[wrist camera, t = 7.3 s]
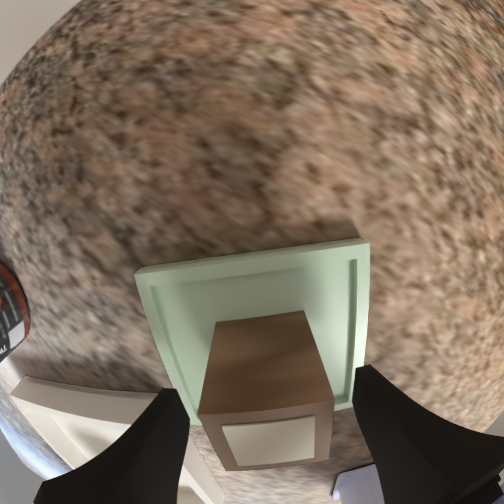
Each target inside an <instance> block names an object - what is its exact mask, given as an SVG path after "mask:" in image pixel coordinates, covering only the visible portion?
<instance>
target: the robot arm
mask: <svg viewBox="0 0 504 504" xmlns="http://www.w3.org/2000/svg"><path fill="white" fill-rule="evenodd" d="M352 404H353V408H354V411H355V415H356V418H357V421H358V424H359V426H360V429H361V431H362V434H363V436H364V438H365V441H366V443H367V445H368V448H369V450H370V452H371V455H372V457H373V460H374V463H375V464H373V465H370V466H366V467H363V468H359V469H355V470H352V471H348V472H344V473H341V474H339V475H338V477H337V481H336V484H335V488H334V491H333V495H332V500H336V499H341V503H342V504H504V484H502V486H499V484H498V482H499V481H500V480H501V478H500V476H499V473H500V472H501V471H502V470H503V469H504V437H500V436H494V435H489V434H484V433H480V432H477V431H473V430H470V429H467V428H464V427H462V426H459V425H457V424H454V423H452V422H449V421H447V420H445V419H443V418H441V417H439V416H437V415H436V414H434V413H432V412H430V411H429V410H427V409H425V408H424V407H422V406H421V405H419V404H418V403H416V402H415V401H414V400H412V399H411V398H409V397H408V396H407V395H406V394H404V393H403V392H402V391H400V390H399V389H398V388H397V387H395V386H394V385H393V384H392V383H391V382H389V381H388V380H387V379H386V378H385V377H384V376H383V375H381V374H380V373H379V372H378V371H377V370H376V369H375V368H374V367H372V366H371V365H370V364H369V365H365V366H361V367H357V368H356V370H355V379H354V387H353V394H352ZM189 428H190V417H189V415H188V413H187V411H186V409H185V407H184V404H183V402H182V400H181V398H180V396H179V393H178V391H177V389H170V388H163V389H162V390H161V391H160V392H159V394H158V395H157V396H156V397H155V398H154V400H153V401H152V402H151V403H150V404H149V406H148V407H147V408H146V409H145V410H144V411H143V413H142V414H141V415H140V416H139V417H138V418H137V419H136V421H135V422H134V423H133V424H132V425H131V426H130V427H129V428H128V429H127V430H126V431H125V432H124V433H123V434H122V435H121V436H120V437H119V438H118V439H117V440H116V441H115V442H114V443H112V444H111V445H110V446H109V447H108V448H106V449H105V450H104V451H103V452H101V453H100V454H98V455H97V456H95V457H94V458H92V459H91V460H89V461H88V462H86V463H85V464H83V465H81V466H80V467H78V468H76V469H74V470H72V471H70V472H68V473H66V474H63V475H61V476H58V477H55V478H53V479H50V480H47V481H44V482H42V484H41V486H40V488H39V490H38V493H37V495H36V497H35V499H34V501H33V502H34V504H177V494H178V485H179V479H180V475H181V470H182V466H183V462H184V457H185V453H186V448H187V444H188V439H189Z"/></svg>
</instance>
